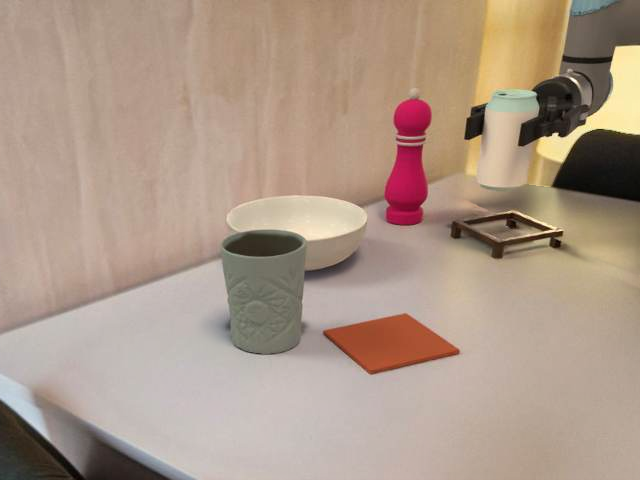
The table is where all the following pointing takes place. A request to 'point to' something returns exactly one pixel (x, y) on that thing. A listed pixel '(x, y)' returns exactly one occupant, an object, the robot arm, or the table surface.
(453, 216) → the table surface
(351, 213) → the serving bowl
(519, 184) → the can
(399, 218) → the pepper mill
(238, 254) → the grey ceramic cup
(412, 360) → the mat
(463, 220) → the square trivet stand
